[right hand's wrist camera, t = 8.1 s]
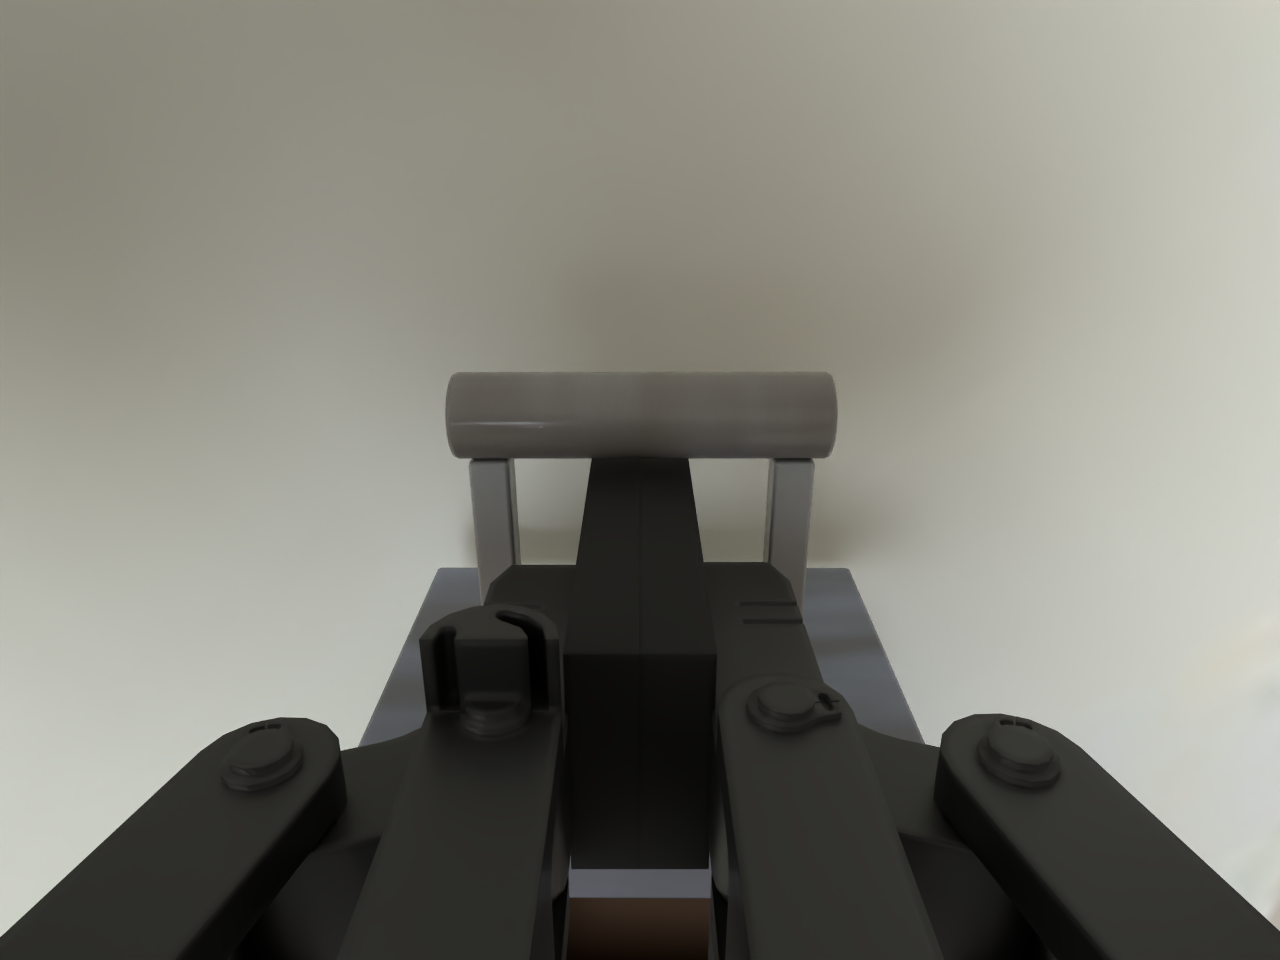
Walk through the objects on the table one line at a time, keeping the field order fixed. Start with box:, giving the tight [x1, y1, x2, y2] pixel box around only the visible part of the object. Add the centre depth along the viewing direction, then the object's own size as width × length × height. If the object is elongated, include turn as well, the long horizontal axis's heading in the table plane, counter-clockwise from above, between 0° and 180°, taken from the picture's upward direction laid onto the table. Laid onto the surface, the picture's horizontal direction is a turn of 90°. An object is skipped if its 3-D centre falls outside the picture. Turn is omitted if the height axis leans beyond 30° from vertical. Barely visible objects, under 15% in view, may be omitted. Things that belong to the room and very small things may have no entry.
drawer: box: [358, 372, 925, 960], centre depth 18 cm, size 25×9×8 cm, turn 0°
